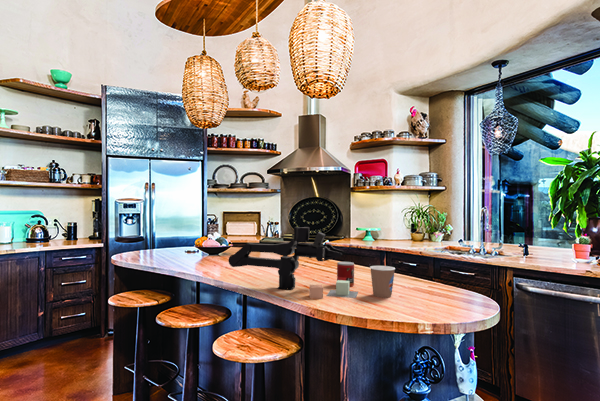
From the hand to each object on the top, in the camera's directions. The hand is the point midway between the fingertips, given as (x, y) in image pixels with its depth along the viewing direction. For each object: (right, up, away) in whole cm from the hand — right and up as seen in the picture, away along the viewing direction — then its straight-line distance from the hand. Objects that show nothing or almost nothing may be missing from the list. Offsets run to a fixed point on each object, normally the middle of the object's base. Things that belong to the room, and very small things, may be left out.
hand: (343, 253), depth 159 cm
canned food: (+2, -17, +12) cm, 21 cm away
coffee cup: (+15, -17, -8) cm, 24 cm away
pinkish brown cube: (-12, -16, -12) cm, 24 cm away
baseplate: (-1, -16, -6) cm, 18 cm away
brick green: (-1, -16, -6) cm, 17 cm away
